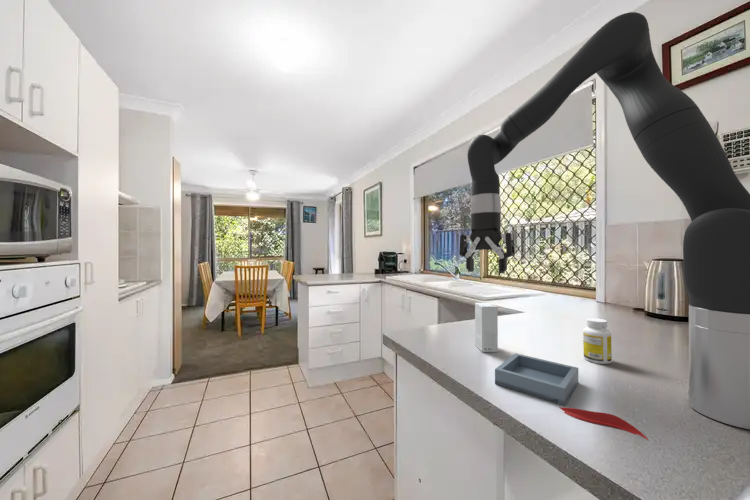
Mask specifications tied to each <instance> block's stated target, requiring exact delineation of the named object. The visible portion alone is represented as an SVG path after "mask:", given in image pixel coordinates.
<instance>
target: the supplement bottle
mask: <svg viewBox="0 0 750 500" xmlns="http://www.w3.org/2000/svg"><path fill="white" fill-rule="evenodd" d="M586 325H587V326H586V327H584V328H583V329H582V330H583V331H582V333H583V334H582V336H583V337H582V338H583V340H582V341H583V346H582V347H583V348H582V349H583V358H584V359H585V361H588V362H590V363H594V364H599V365H609V364H611V363H612V360H613V359H612V354H613V353H612V332H611V330H609V329H607V327H608V320H606V319H602V318H598V317H597V318H595V317H594V318H593V317H589V318H588V317H587V318H586Z"/></svg>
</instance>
